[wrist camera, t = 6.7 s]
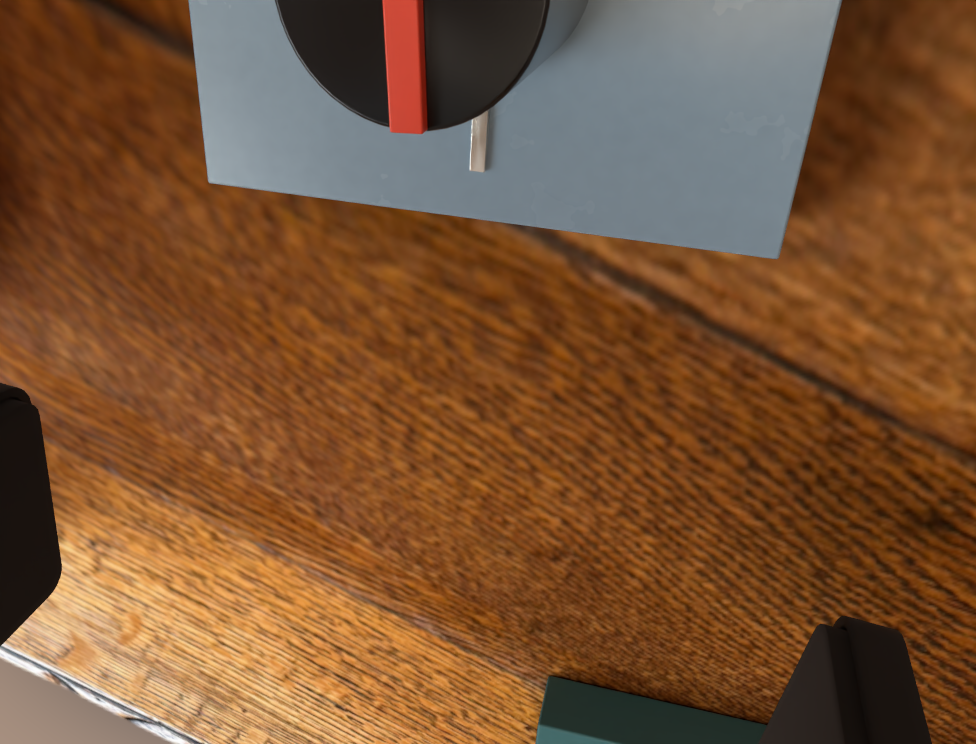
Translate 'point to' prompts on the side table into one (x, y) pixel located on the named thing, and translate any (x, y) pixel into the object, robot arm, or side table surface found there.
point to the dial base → (550, 124)
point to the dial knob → (424, 53)
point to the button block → (631, 719)
